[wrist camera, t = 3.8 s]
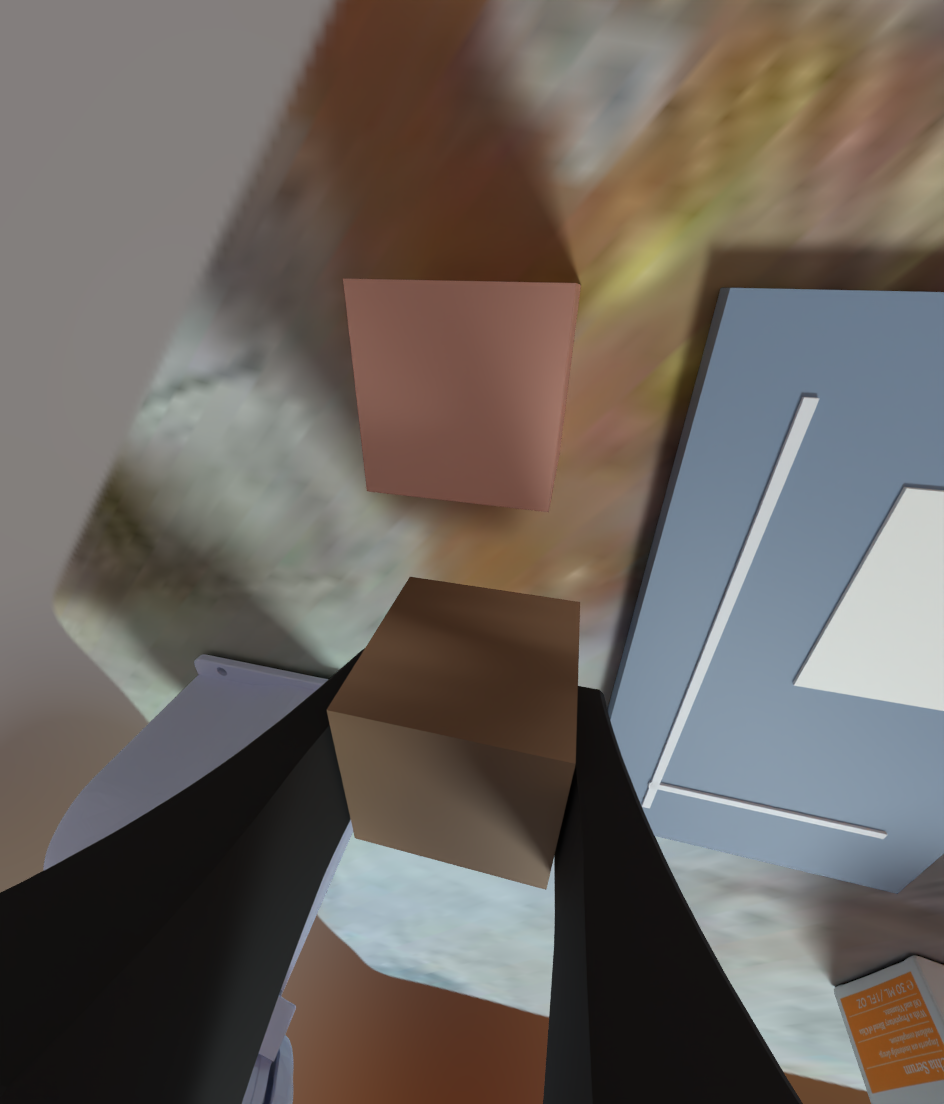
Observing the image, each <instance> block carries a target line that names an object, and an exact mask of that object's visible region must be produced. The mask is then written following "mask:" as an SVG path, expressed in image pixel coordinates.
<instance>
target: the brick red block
mask: <svg viewBox="0 0 944 1104" xmlns="http://www.w3.org/2000/svg"><path fill="white" fill-rule="evenodd" d="M343 283H344V292H345V301H346V310H347V318H348V327H349V336H350V345H351V354H352V363H353V371H354V380H355V389H356V398H357V407H358V415H359V424H360V433H361V442H362V451H363V460H364V468H365V477H366V486H367V491H370V492H378V493H387V494H396V495H404V496H413V497H422V498H430V499H439V500H448V501H457V502H465V503H474V504H483V505H491V506H500V507H509V508H517V509H526V510H535V511H544V512H549V508H550V503H551V497H552V492H553V486H554V481H555V476H556V470H557V465H558V459H559V454H560V447H561V439H562V431H563V423H564V415H565V407H566V399H567V391H568V383H569V375H570V367H571V360H572V352H573V344H574V336H575V328H576V320H577V312H578V304H579V296H580V288H581V285H580V284H577V283H542V282H492V281H441V280H391V279H343Z"/></svg>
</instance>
